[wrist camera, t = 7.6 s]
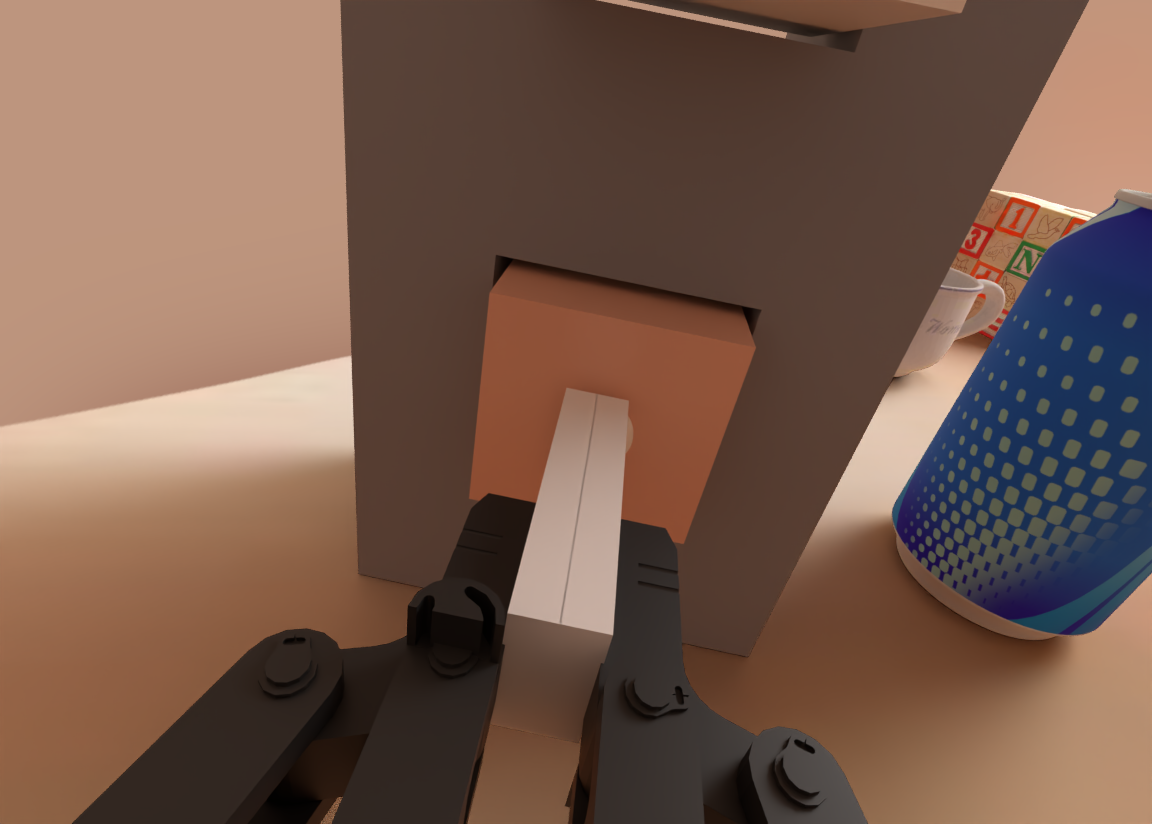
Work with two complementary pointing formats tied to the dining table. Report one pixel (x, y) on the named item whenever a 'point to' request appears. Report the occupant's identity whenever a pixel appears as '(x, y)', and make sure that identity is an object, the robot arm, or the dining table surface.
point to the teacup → (951, 319)
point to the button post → (662, 235)
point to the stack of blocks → (1012, 244)
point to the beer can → (1048, 447)
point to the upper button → (815, 12)
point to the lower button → (608, 383)
